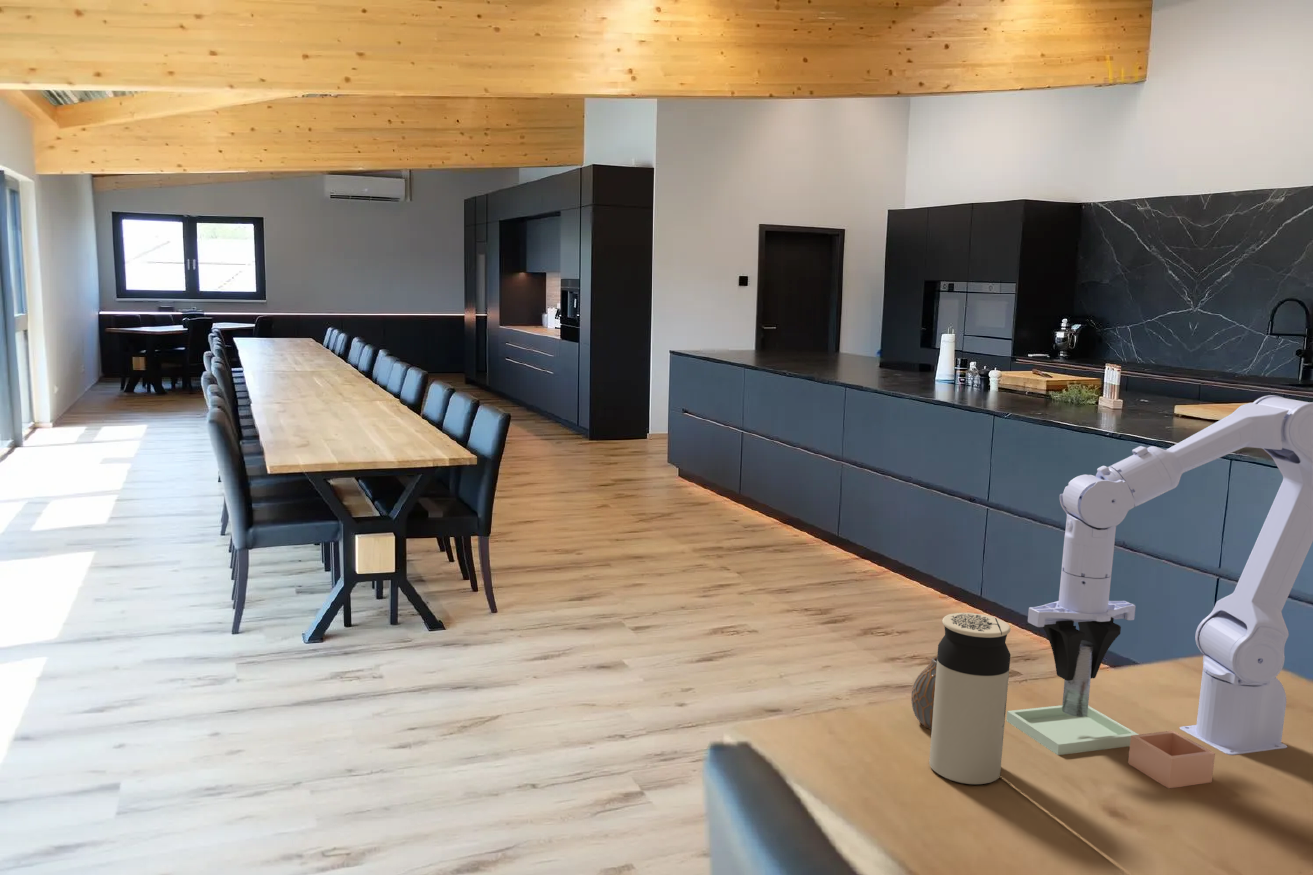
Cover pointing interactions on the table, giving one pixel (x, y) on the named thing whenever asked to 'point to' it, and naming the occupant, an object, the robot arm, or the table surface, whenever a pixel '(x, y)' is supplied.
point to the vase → (925, 694)
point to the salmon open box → (1171, 759)
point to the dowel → (1079, 683)
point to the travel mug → (970, 699)
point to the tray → (1070, 729)
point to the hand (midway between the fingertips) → (1075, 676)
